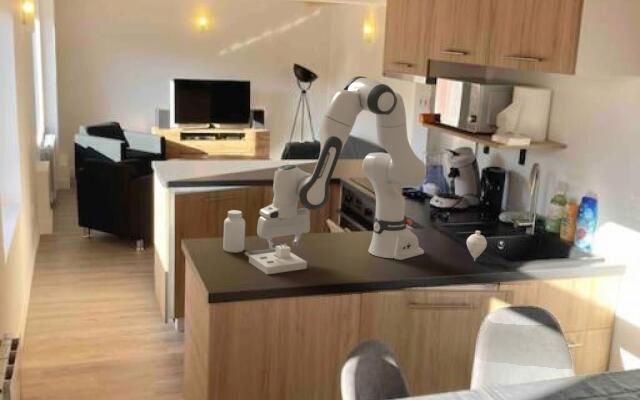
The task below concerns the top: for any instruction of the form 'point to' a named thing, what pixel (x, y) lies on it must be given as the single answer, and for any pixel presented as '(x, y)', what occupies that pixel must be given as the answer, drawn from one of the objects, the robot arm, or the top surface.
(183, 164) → the top surface
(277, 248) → the charger
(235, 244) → the pill bottle
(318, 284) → the top surface
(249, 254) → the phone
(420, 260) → the top surface
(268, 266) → the outlet plate
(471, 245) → the spinning top
